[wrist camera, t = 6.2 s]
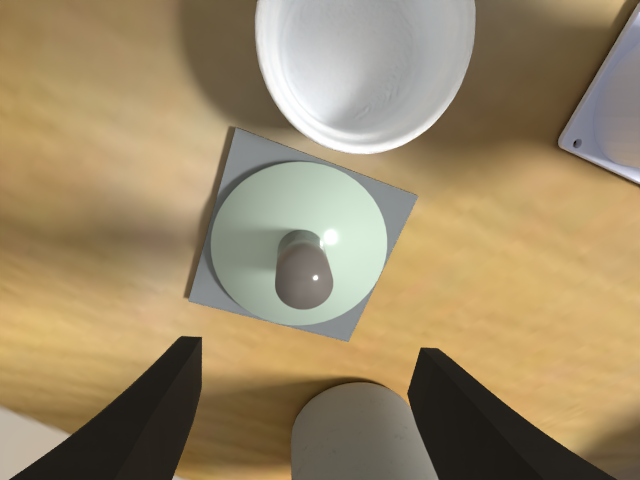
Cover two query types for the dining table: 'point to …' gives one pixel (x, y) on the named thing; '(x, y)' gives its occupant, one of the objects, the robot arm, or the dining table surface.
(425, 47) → the ramekin
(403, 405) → the water bottle
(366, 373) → the dining table surface
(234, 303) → the mat
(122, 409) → the robot arm
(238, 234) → the lid
